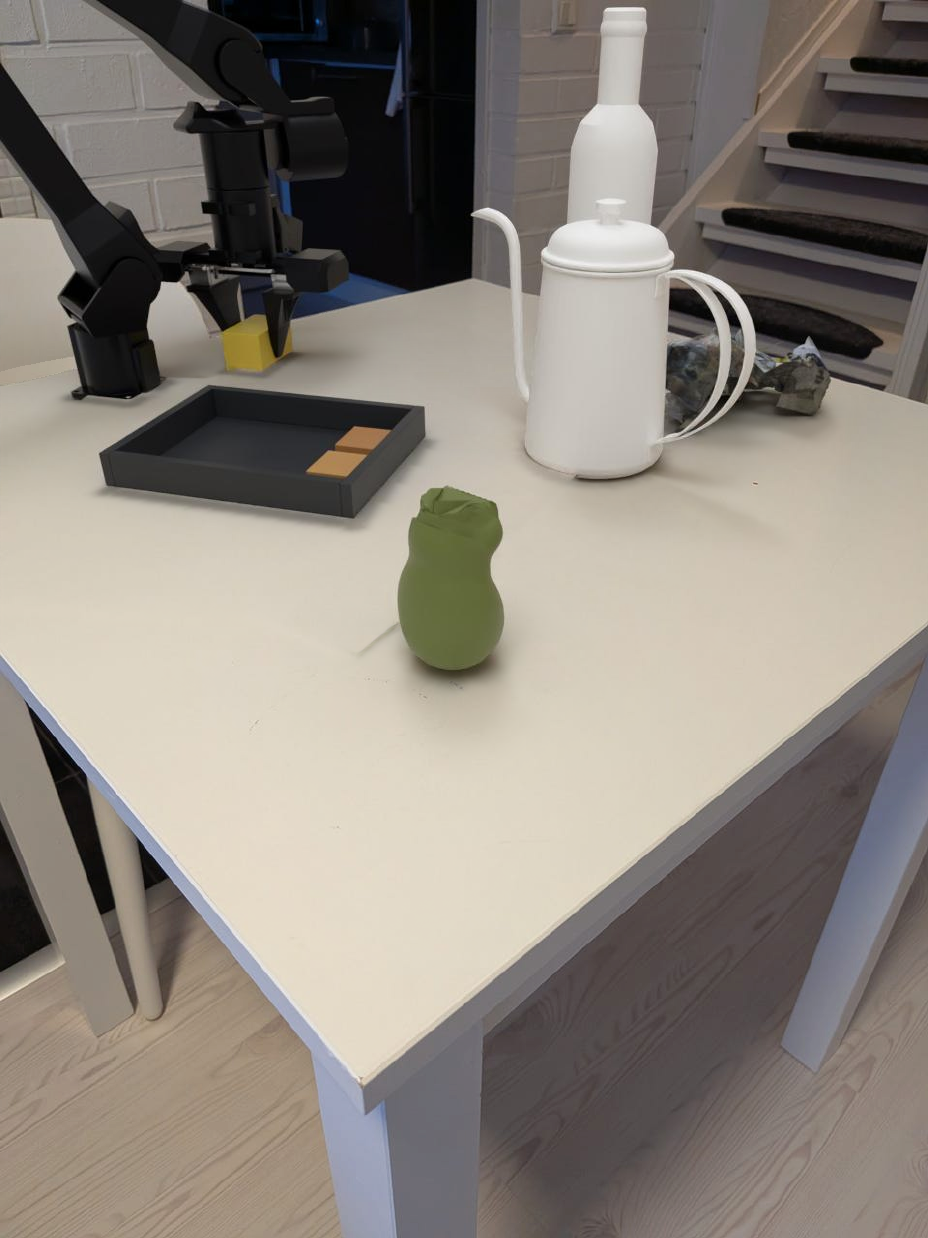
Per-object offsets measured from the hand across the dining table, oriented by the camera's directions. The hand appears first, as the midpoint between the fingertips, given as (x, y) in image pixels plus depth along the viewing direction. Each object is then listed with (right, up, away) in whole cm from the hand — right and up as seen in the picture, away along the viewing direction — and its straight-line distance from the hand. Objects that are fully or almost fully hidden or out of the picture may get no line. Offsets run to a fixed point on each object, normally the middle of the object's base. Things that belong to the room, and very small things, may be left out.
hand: (259, 354), depth 92 cm
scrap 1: (+12, -17, -25) cm, 32 cm away
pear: (+20, -29, -43) cm, 56 cm away
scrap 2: (+13, -14, -21) cm, 29 cm away
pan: (+6, -15, -21) cm, 26 cm away
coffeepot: (+31, -14, -19) cm, 39 cm away
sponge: (0, -1, +1) cm, 1 cm away
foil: (+45, -9, -11) cm, 47 cm away
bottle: (+34, -1, 0) cm, 34 cm away
